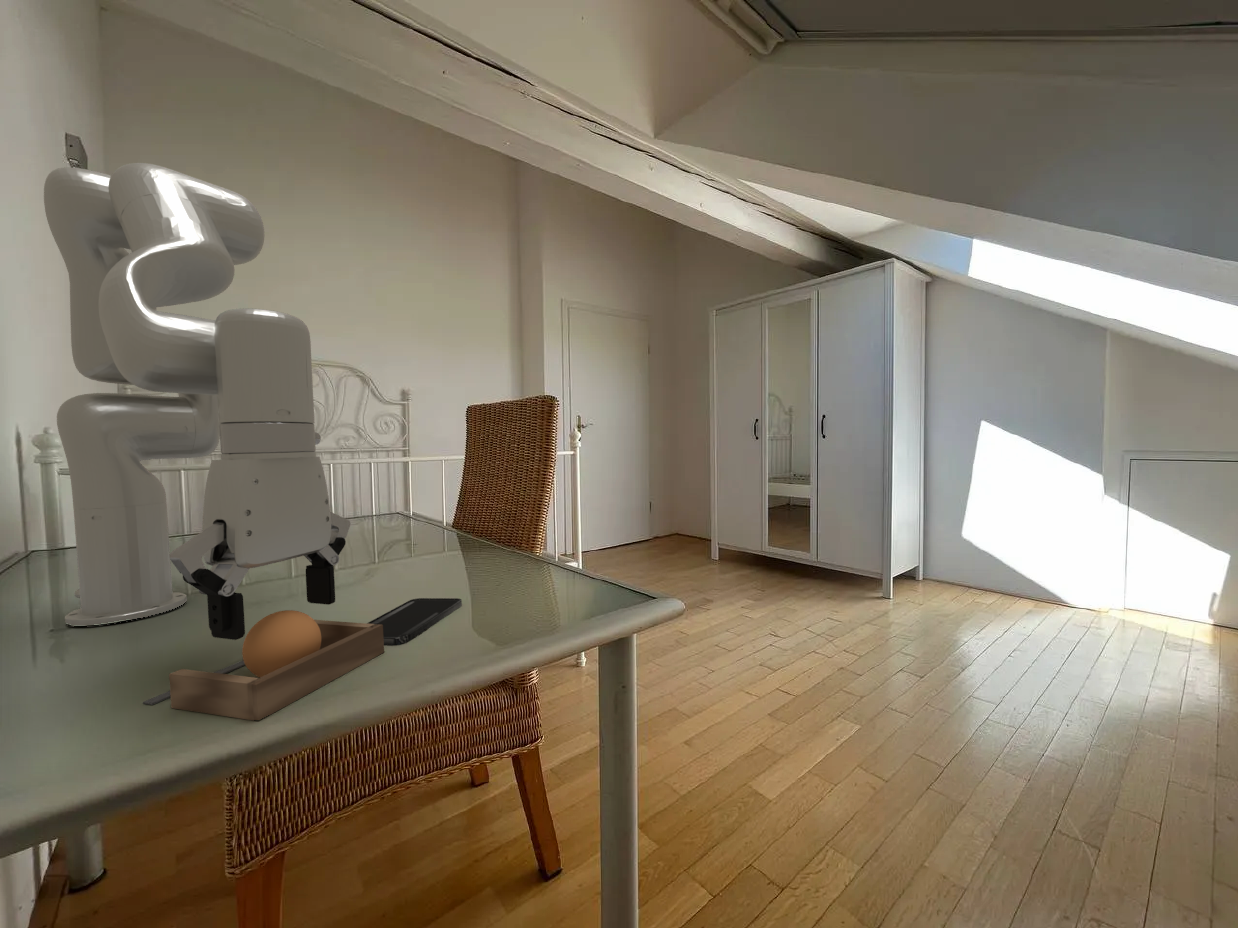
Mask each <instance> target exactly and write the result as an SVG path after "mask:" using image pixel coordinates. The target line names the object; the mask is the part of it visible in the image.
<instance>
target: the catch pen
mask: <svg viewBox="0 0 1238 928" xmlns="http://www.w3.org/2000/svg"><path fill="white" fill-rule="evenodd" d="M314 620H315V622H316V623H317V624H318V626H319V628H320V632H321V646H320V649H319V650H318V651H316V652H314V653H312V654H310V655H307V656H305V657H303V658H301V659H299V660H297V661H295V662H292V663H290V664H288V665H286V666H284V667H282V668H279V669H277V670H275V671H273V672H271V673H269V674H267V675H264V676H262V677H253V676H244V675H235V674H228V673H226V674H220V673H214V672H210V671H203V670H196V669H195V670H193V669H186V668H181V669H177V670H175V671H173V672H171V673H170V672H169V673H168V674H169V675H168V677H169V678H168V679H169V691H170V695H171V697H170V703H171V704H170V707H171V709H176V710H182V711H190V712H195V713H201V714H202V713H203V714H209V715H216V716H222V717H228V718H229V717H230V718H236V719H240V720H249V721H254V720H260V719H262V718H263V719H265V718H267V717H269V716H271V715H272V714H274V713H276V712H278V711H280V710H282V709H284V708H286V707H287V706H289V705H290V704H292V703H294V702H296V701H297V700H300V699H302V698H304V697H305V696H307V695H309V694H311V693H313V692H315V691H317V690H318V689H320V688H322V687H324V686H326V685H327V684H328V683H330V682H332V681H334V680H336V679H338V678H339V677H342V676H343V675H346V674H347V673H349V672H350V671H353V670H355V669H357V668H358V667H359V666H362V665H363V664H366V663H367V662H369V661H371V660H372V659H374V658H377V657H378V656H380V655H381V654H384V653H385V645H384V638H383V625H380V624H367V623H368V622H365V623H364V622H353V621H352V622H351V621H337V620H334V621H333V620H322V619H314ZM268 715H269V716H268ZM266 716H267V717H266ZM264 717H265V718H264ZM263 719H262V720H263ZM260 721H261V720H260Z"/></svg>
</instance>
